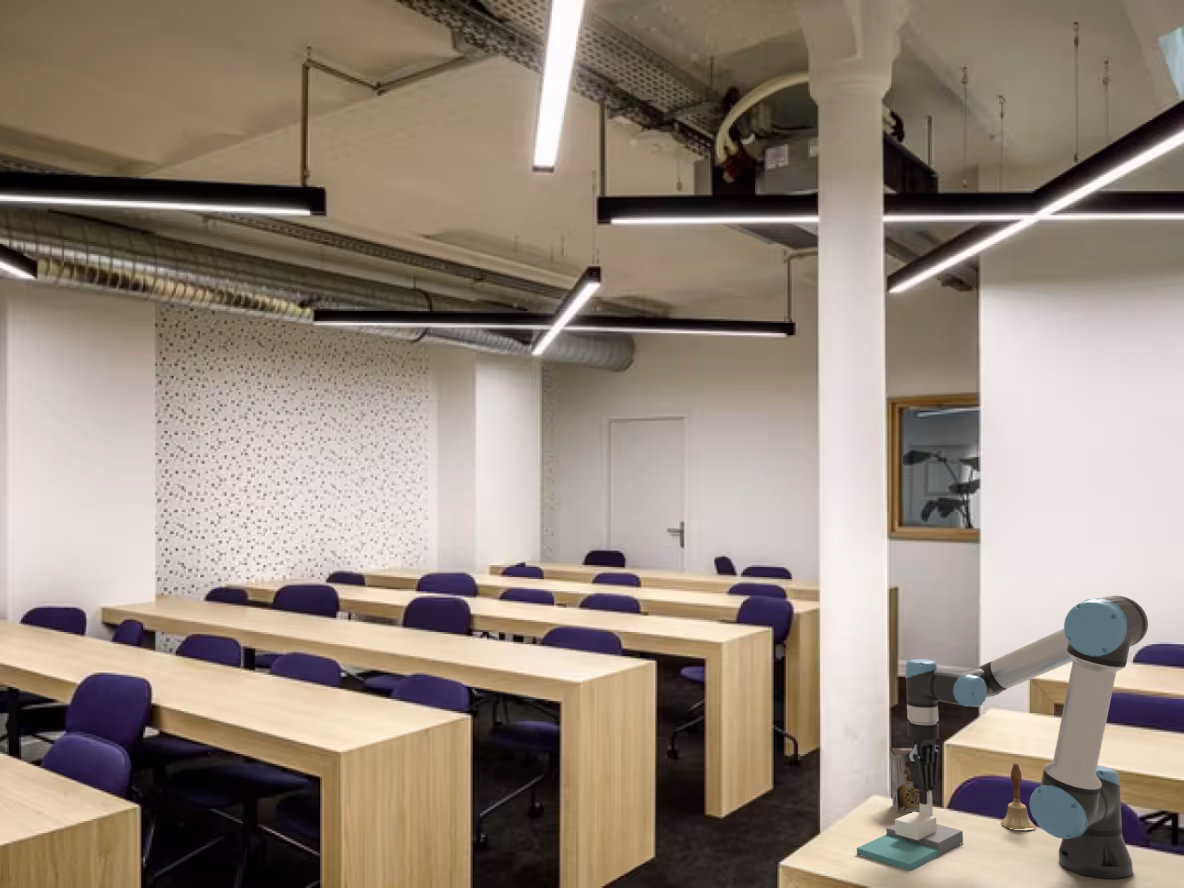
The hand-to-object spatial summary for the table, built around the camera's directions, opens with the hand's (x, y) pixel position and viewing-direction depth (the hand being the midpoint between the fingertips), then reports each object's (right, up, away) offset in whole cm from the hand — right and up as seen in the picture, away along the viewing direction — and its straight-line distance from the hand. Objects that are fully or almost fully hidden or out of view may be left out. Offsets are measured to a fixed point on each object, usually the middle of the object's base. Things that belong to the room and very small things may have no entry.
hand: (926, 816), depth 231 cm
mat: (-11, -5, -10) cm, 16 cm away
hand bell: (+27, -6, +9) cm, 29 cm away
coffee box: (+4, -8, +23) cm, 25 cm away
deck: (-1, -6, -2) cm, 6 cm away
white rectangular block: (-4, -3, -4) cm, 6 cm away
